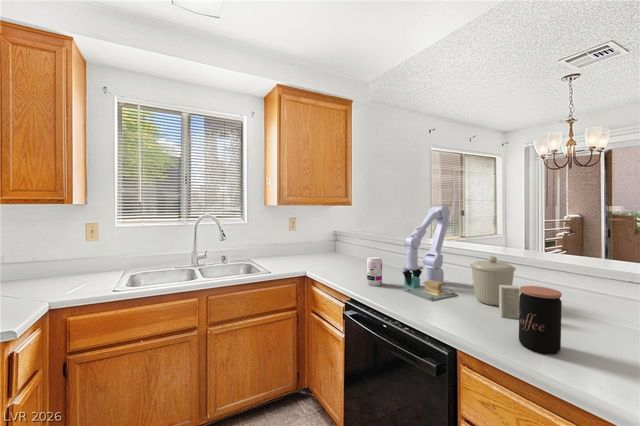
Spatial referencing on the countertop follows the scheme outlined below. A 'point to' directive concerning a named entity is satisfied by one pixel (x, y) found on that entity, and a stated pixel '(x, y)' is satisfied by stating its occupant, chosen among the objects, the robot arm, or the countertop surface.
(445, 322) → the countertop surface
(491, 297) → the canister
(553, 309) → the coffee jar
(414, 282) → the teal brick
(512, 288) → the skincare box
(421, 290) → the baseplate
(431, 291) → the honey-wood brick
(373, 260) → the supplement can
